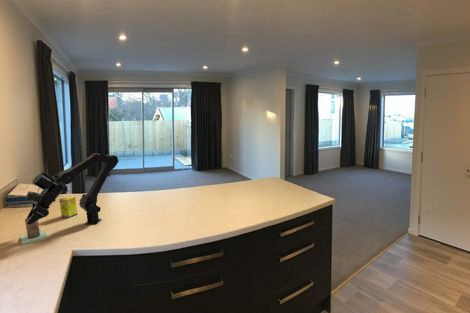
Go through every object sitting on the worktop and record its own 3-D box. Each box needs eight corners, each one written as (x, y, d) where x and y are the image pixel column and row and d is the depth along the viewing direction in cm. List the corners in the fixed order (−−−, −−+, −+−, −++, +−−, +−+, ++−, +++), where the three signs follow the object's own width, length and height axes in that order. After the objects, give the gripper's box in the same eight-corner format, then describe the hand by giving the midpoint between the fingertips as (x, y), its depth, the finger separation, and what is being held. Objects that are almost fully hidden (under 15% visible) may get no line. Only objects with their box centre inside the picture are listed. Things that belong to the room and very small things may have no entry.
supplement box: (61, 217, 177) (58, 198, 175) (70, 213, 182) (67, 195, 181) (69, 218, 175) (66, 199, 173) (77, 214, 180) (75, 196, 178)
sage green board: (21, 237, 150) (20, 235, 150) (45, 232, 156) (44, 230, 156) (22, 244, 142) (21, 242, 142) (47, 238, 148) (46, 236, 148)
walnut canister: (32, 234, 151) (29, 216, 150) (42, 234, 151) (39, 216, 150) (25, 238, 147) (22, 220, 145) (35, 238, 146) (33, 220, 145)
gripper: (35, 181, 154) (11, 207, 150) (36, 189, 139) (10, 218, 135) (55, 193, 160) (33, 218, 156) (59, 202, 145) (34, 230, 141)
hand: (27, 221), depth 147 cm, fingers open, 9 cm apart
